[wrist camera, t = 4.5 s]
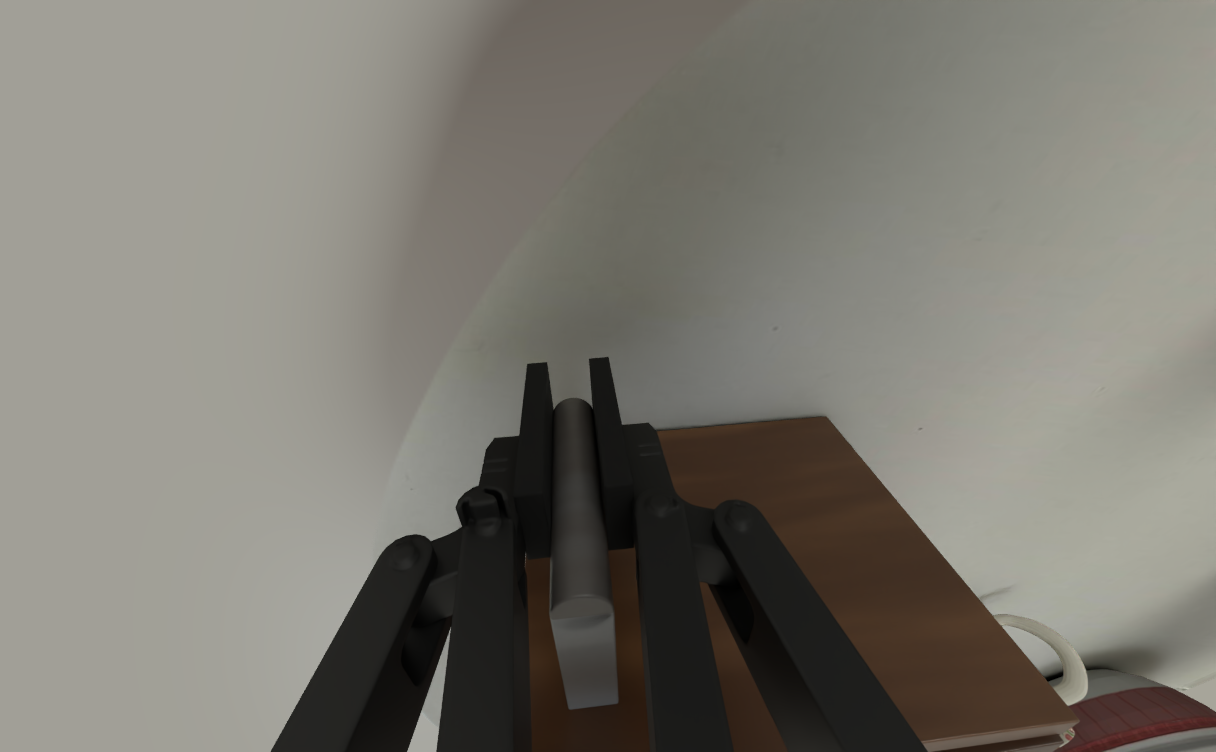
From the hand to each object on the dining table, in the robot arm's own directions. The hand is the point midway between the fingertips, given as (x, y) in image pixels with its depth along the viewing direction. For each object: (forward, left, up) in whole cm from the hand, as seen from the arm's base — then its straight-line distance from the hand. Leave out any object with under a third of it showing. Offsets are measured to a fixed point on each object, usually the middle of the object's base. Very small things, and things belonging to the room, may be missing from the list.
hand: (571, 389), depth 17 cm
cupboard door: (+2, +7, -4) cm, 8 cm away
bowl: (+39, +70, -5) cm, 80 cm away
